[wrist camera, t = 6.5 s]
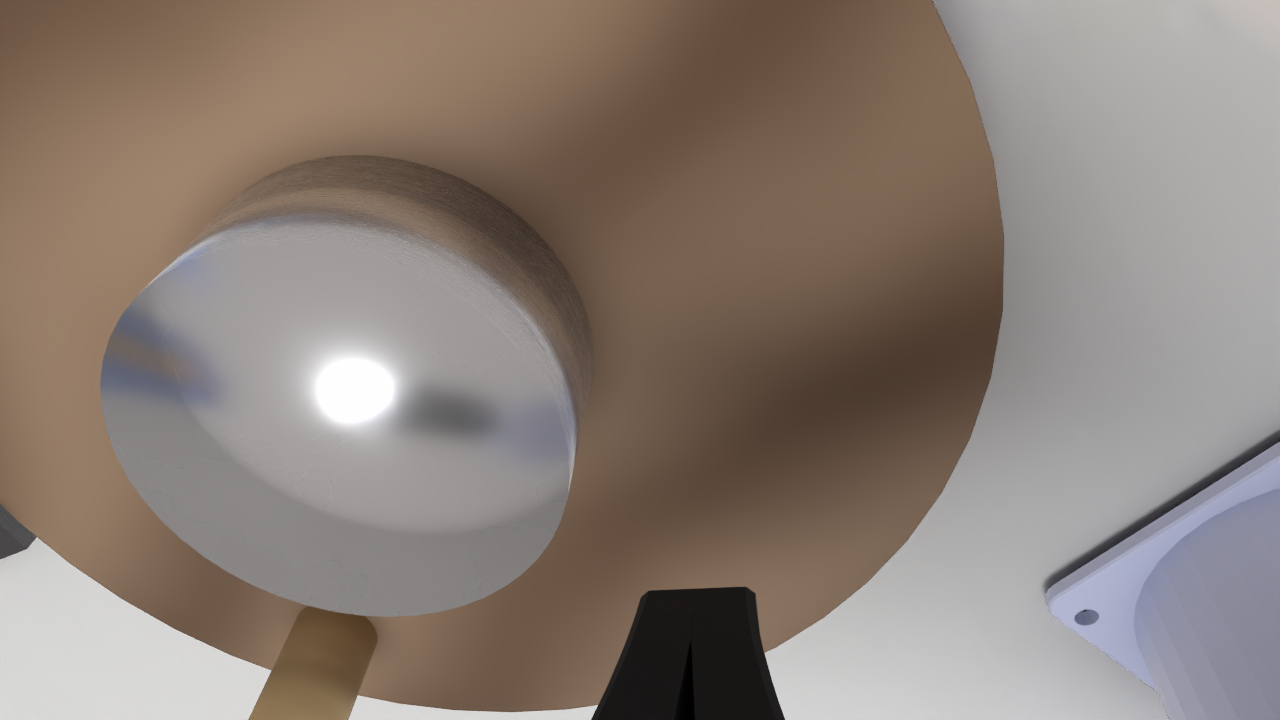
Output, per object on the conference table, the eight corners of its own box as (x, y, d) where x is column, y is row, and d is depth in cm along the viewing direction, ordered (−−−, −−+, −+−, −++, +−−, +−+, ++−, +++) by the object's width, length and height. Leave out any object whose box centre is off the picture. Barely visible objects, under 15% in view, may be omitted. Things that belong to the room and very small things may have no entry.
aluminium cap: (677, 339, 17) (667, 451, 14) (444, 552, 20) (403, 673, 18) (322, 61, 15) (239, 136, 12) (126, 350, 18) (27, 456, 15)
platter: (1240, 253, 17) (1382, 408, 13) (549, 767, 26) (519, 942, 23) (129, -823, 11) (-181, -1090, 7) (-243, 343, 20) (-458, 485, 17)
